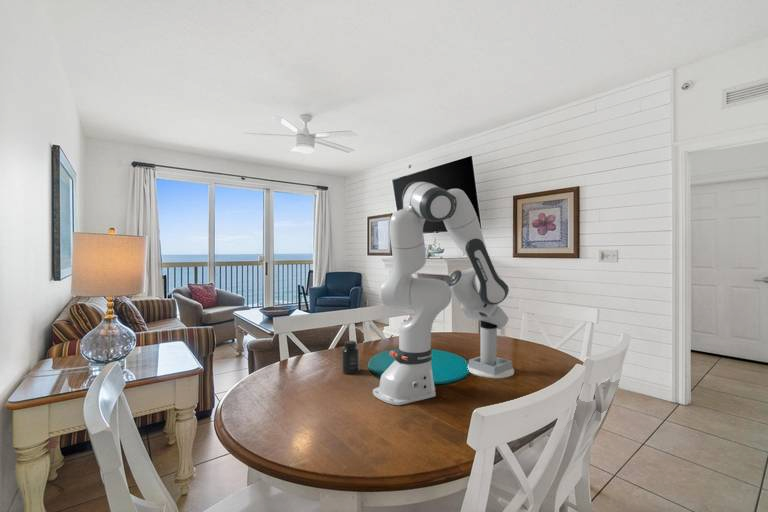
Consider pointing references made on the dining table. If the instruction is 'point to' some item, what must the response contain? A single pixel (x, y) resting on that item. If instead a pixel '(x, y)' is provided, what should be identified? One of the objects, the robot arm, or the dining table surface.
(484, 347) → the travel mug
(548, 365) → the dining table surface
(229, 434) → the dining table surface
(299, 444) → the dining table surface
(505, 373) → the stand
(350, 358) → the supplement bottle
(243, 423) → the dining table surface
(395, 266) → the robot arm
